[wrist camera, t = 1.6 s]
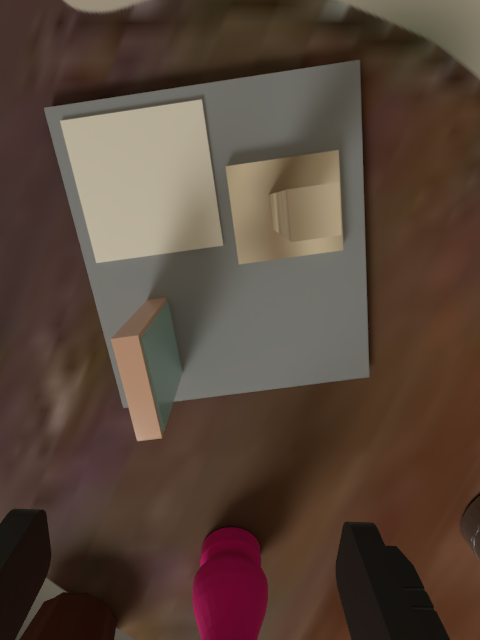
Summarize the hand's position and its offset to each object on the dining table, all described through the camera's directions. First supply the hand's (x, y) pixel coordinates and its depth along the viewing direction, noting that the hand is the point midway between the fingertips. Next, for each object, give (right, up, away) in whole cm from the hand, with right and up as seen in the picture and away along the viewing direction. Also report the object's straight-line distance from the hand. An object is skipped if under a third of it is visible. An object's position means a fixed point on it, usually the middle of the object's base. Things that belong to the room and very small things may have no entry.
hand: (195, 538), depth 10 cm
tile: (-5, +4, +21) cm, 22 cm away
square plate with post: (+5, +14, +18) cm, 23 cm away
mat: (0, +11, +20) cm, 23 cm away
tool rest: (-6, +16, +17) cm, 24 cm away
